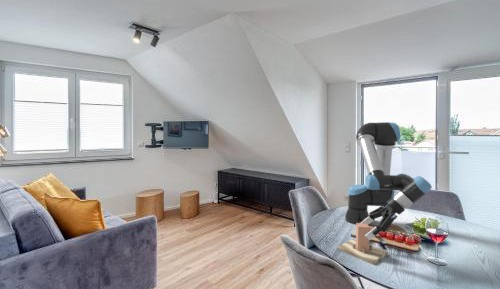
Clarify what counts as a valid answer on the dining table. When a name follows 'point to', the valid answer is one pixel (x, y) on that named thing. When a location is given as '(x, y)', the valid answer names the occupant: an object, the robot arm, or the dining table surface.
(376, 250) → the base plate
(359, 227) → the block
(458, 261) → the dining table surface
